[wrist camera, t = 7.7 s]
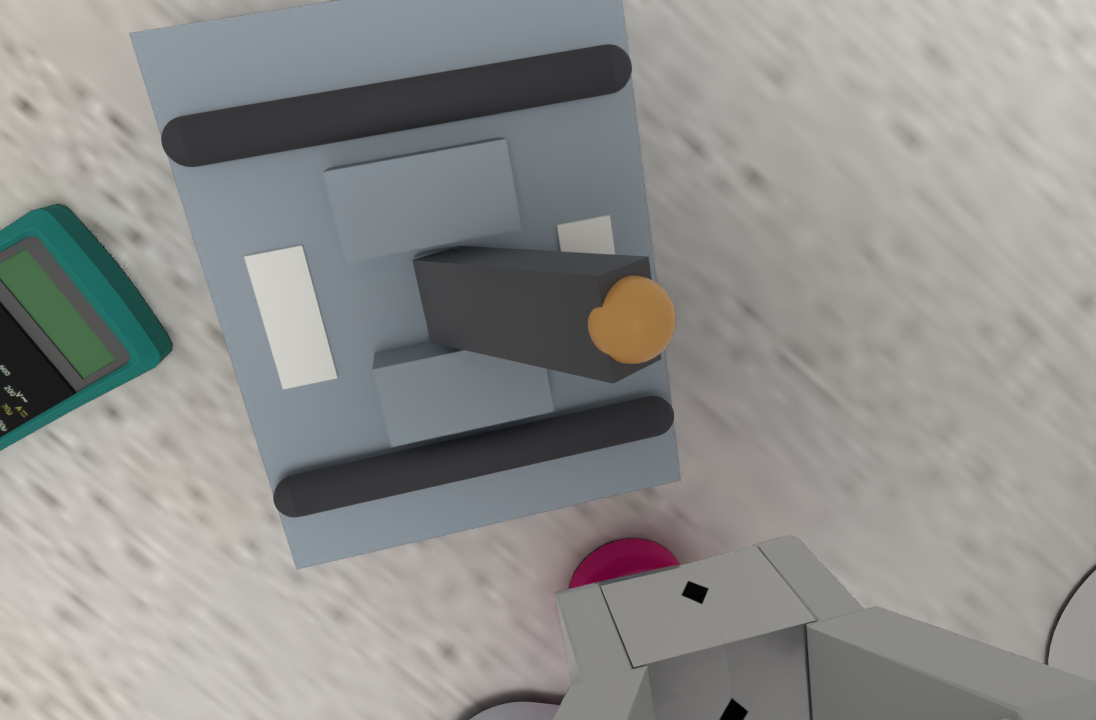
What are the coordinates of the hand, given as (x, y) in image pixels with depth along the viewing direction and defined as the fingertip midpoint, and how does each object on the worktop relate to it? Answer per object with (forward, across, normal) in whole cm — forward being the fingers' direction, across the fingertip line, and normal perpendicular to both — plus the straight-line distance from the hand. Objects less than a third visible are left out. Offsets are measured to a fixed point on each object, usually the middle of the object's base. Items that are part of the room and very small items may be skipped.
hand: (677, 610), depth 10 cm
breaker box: (+27, -2, 0) cm, 27 cm away
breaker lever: (+20, -2, 0) cm, 20 cm away
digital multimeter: (+27, -22, 0) cm, 35 cm away
